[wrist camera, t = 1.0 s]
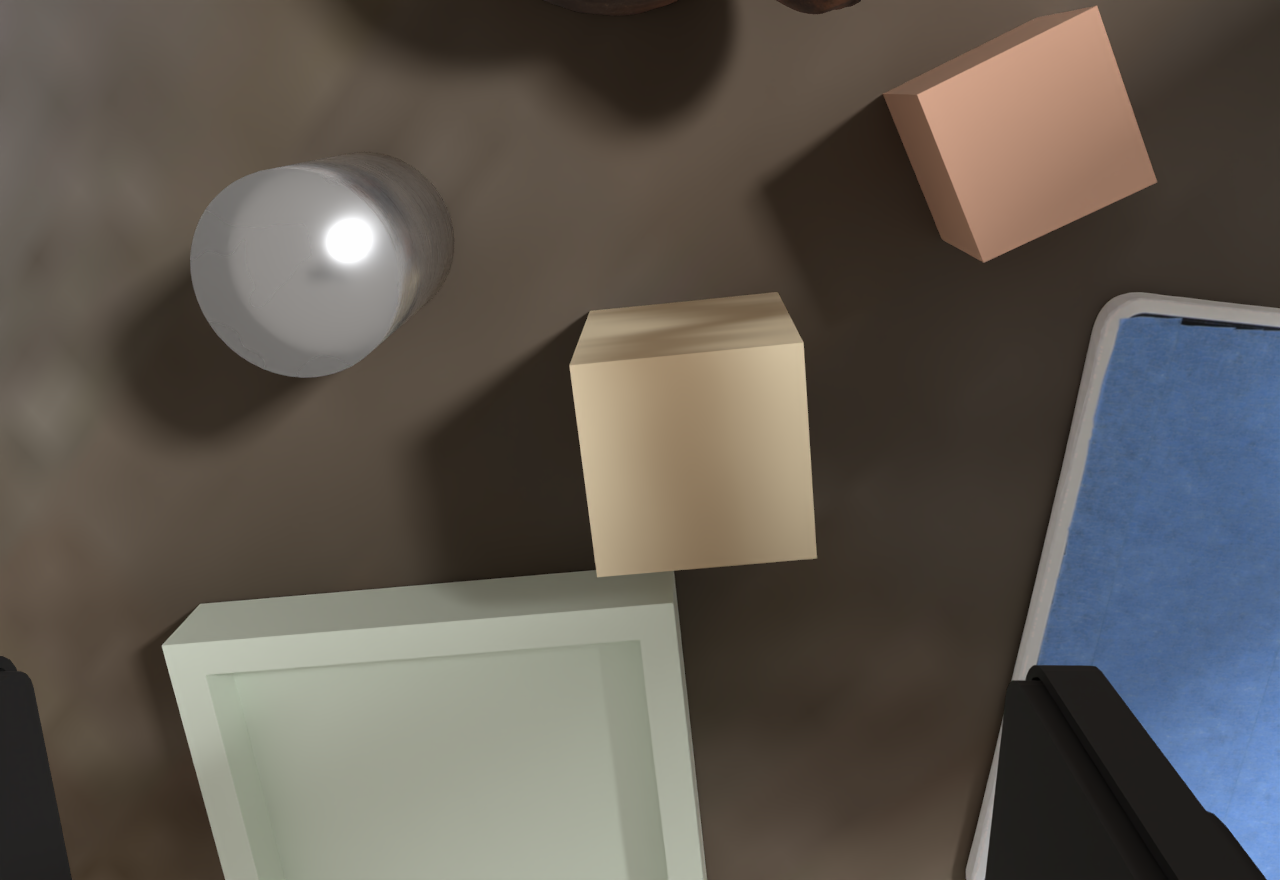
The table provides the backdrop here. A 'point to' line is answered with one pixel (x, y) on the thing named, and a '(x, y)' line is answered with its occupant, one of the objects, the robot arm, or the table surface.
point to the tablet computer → (1174, 550)
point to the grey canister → (320, 260)
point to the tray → (445, 731)
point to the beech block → (694, 435)
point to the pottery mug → (629, 3)
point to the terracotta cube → (1022, 134)
